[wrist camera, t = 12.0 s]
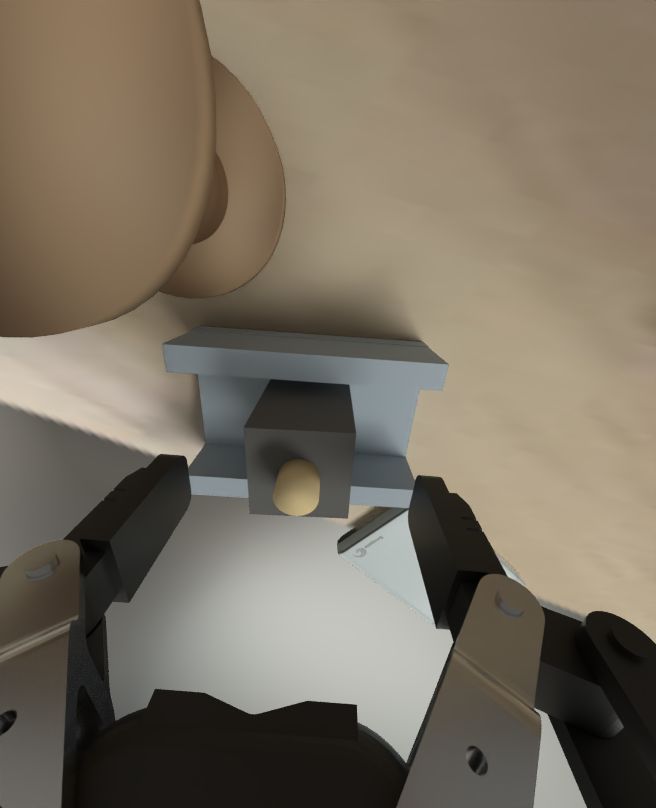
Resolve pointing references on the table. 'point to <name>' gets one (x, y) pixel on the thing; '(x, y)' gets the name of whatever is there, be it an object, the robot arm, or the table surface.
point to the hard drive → (394, 559)
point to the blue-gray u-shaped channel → (312, 362)
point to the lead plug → (301, 450)
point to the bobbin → (124, 164)
